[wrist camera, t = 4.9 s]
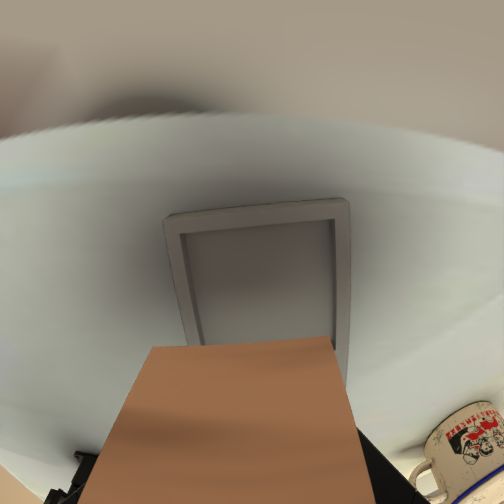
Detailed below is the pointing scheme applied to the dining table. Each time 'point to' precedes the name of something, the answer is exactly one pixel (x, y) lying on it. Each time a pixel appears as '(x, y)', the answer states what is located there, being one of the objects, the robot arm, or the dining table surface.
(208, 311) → the grey compartment tray
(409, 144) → the dining table surface
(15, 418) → the dining table surface
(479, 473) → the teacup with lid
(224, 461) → the terracotta block
